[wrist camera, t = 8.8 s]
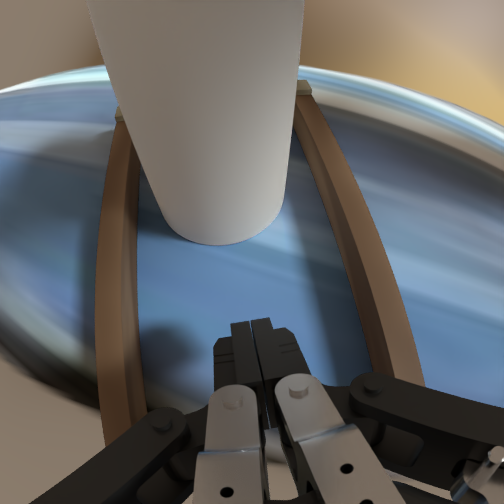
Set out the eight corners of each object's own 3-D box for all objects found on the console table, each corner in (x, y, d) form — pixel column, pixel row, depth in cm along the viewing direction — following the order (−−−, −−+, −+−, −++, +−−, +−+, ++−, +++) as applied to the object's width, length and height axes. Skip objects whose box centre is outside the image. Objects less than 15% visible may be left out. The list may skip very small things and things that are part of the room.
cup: (283, 249, 18) (324, -71, 4) (147, 242, 18) (28, -19, 4) (284, 150, 22) (300, -72, 7) (174, 147, 22) (130, -58, 8)
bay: (302, 108, 24) (306, 79, 21) (407, 414, 13) (436, 413, 11) (127, 133, 23) (117, 106, 20) (130, 463, 12) (105, 473, 10)
